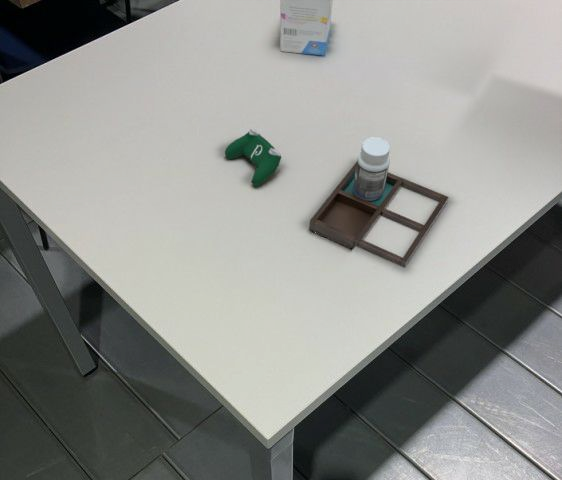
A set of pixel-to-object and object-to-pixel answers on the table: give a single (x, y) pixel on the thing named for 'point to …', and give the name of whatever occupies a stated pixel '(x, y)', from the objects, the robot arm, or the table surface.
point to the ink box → (305, 26)
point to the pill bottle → (372, 169)
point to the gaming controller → (256, 154)
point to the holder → (369, 215)
